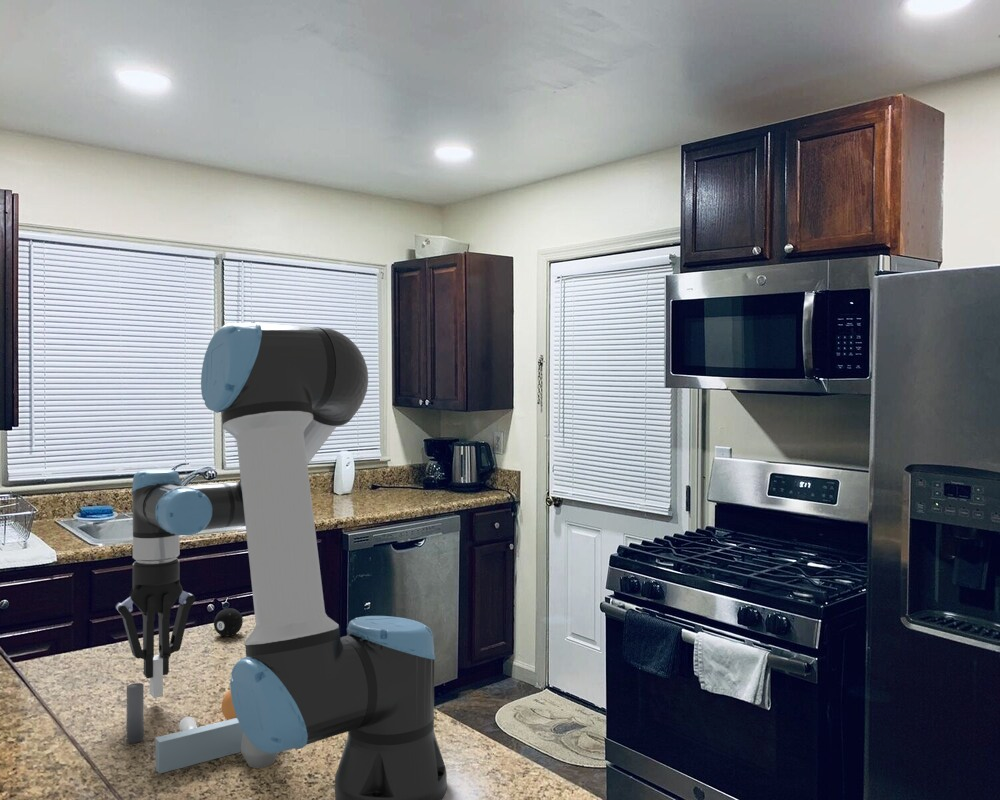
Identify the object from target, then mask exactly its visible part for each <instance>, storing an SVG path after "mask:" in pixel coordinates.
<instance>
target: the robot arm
mask: <svg viewBox="0 0 1000 800" xmlns="http://www.w3.org/2000/svg"><path fill="white" fill-rule="evenodd" d="M200 374H201V376H200V377H201V378H200V388H201V389H200V390H201V397H202V400H203V401H204V406H205V407H206V408H207V409H208V410H210V411H211V412H212V411H213V412H214V413H215V414H216V413H217V414H218V413H221V419H222V420H221V421H222V428H223V430H224V431H226V432H227V433H228V434H230V435H232V437H233V438H234V440H236V446H237V457H238V465H239V466H238V467H239V476H240V477H239V478H240V479H239V481H236V482H226V483H224V482H223V483H221V482H220V483H215V484H214V483H211V484H209V483H208V484H196V485H181V480H180V474H179V472H178V471H177V470H174V469H146V470H140V471H137V472H136V473H135V474H134V475H133V477H132V490H131V491H130V493H131V496H132V498H131V499H132V559H133V560H135V561H134V562H133V563H132V588H131V590H130V592H129V597H127V598H126V599H125V600H123V601H122V602H117V603H116V604H115V610H117V611H118V613H119V614H120V615H121V618H122V621H123V625H124V628H125V629H124V630H125V632H126V637H127V640H128V643H129V646H130V651H131V654H132V655H133V656H134V657H135V658H136V659H138V660H139V659H141V660H142V659H143V675H144V677H145V678H146V679H149V695H150V696H151V697H152V698H153V699H157V698H160V697H161V698H162V697H163V696H164V676H167V675H168V674H169V672H170V661H169V660H170V657H171V655H172V654H174V653H175V652H179V651H180V649H181V646H182V642H183V638H184V634H185V630H186V626H187V622H188V618H189V613H190V609H191V608H192V606H193V604H195V603H194V602H195V601H196V599H197V598H196V596H195V595H194V594H193V593H191V592H187V591H184V590H183V586H182V584H181V581H180V572H181V571H180V560H179V558H178V557H179V556H180V555H181V554H180V553H181V552H180V548H181V547H180V536H187V537H188V536H193V535H197V534H198V533H201V532H202V531H205V530H214V529H223V528H229V527H230V528H231V527H238V526H239V527H240V526H245V533H246V543H247V544H246V545H247V552H248V553H247V554H248V561H249V563H248V564H249V570H250V571H249V572H250V581H251V590H252V599H253V600H252V601H253V610H254V611H253V612H254V620H255V626H254V628H253V630H252V632H250V634H249V635H248V637H247V638H246V639H245V641H244V648H245V657H242V658H240V660H238V661H237V662H236V663H235V664H234V665H233V667H232V669H231V673H230V674H231V678H230V679H229V680H230V681H229V682H230V683H229V685H230V689H231V697H232V702H233V707H234V710H235V713H236V716H237V719H238V721H239V724H240V726H241V728H242V730H243V732H244V733H245V734H246V736H247V738H248V739H249V741H250V742H251V743H252V744H253V745H254V746H255V747H256V748H258V749H259V750H261V751H263V752H265V753H271V754H273V753H278V754H279V753H282V752H286V751H290V750H293V749H294V750H295V749H296V750H300V749H303V748H304V747H306V746H307V745H310V744H313V743H316V742H319V741H322V740H326V739H329V738H332V737H334V736H338V735H341V734H344V733H347V739H346V742H345V745H344V748H343V751H342V753H341V757H340V759H339V764H338V766H337V770H336V773H335V777H334V798H335V800H442V798H443V799H444V797H445V794H446V792H447V787H448V786H447V784H448V783H447V782H448V781H447V780H448V779H447V778H448V777H447V774H448V773H447V768H446V765H445V762H444V759H443V756H442V753H441V749H440V746H439V743H438V740H437V737H436V733H435V660H436V654H435V644H434V634H433V632H432V630H431V628H430V627H429V626H428V625H426V624H424V623H422V622H421V621H417V620H414V619H411V618H410V619H409V618H405V617H397V616H388V615H365V616H359V617H355V618H353V619H351V620H350V621H349V622H348V626H347V628H346V632H347V633H348V634H347V635H344V636H342V637H341V632H340V625H339V623H337V622H336V621H335V620H333V619H332V618H331V617H329V615H327V613H326V609H325V600H324V592H323V584H322V582H323V581H322V575H321V569H320V568H321V567H320V558H319V550H318V543H317V533H316V525H315V517H314V516H315V515H314V508H313V499H312V492H311V483H310V476H309V475H310V473H309V467H308V466H309V463H310V462H311V460H313V458H314V457H315V455H317V453H318V452H319V450H320V449H321V448H322V447H323V445H324V444H325V443H326V441H327V440H328V439H329V437H330V436H331V435H332V434H333V433H334V431H335V430H336V428H338V427H342V426H344V425H347V424H348V423H349V422H350V421H351V420H352V419H353V417H354V416H355V415H356V414H357V412H358V411H359V410H360V408H361V406H362V405H363V403H364V401H365V400H364V399H365V398H366V395H367V393H368V388H369V387H368V385H369V370H368V365H367V363H366V360H365V357H364V355H363V354H362V352H361V351H360V349H359V347H358V346H357V345H356V344H355V343H354V342H353V341H352V340H351V339H350V338H349V337H347V336H346V335H345V334H344V333H341V332H340V331H337V330H335V329H334V328H333V329H332V328H329V327H321V326H314V327H312V326H311V327H310V326H301V325H300V326H299V325H285V324H272V323H260V322H258V321H252V322H247V323H246V322H243V323H242V322H233V323H227V324H225V325H222V326H221V327H220V328H219V329H217V331H216V332H215V333H214V334H213V336H212V337H211V340H210V341H209V342H208V345H207V348H206V350H205V353H204V357H203V362H202V366H201V373H200ZM177 601H178V603H179V605H178V608H177V611H176V614H175V615H176V616H175V619H174V624H173V625H174V626H173V628H172V632H171V633H170V631H171V630H170V627H171V626H170V624H171V623H170V618H171V610H172V608H173V607H174V605H175V604H176V602H177ZM133 605H135V607H137V608H138V610H139V611H140V612H141V613H142V615H141V616H142V645H141V642H140V639H139V635H138V630H137V627H136V624H135V619H134V616H133V615H132V612H133V610H134V608H133ZM156 614H157V615H158V653H159V654H155V620H156V617H155V616H156ZM170 634H171V636H170ZM170 637H171V638H170ZM230 689H229V690H230Z"/></svg>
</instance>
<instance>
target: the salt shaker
mask: <svg viewBox="0 0 1000 800" xmlns="http://www.w3.org/2000/svg"><path fill="white" fill-rule="evenodd" d="M240 753H241V755H242V757H243V758H244V760H245V762H246V763H247V765H248V767H249V768H256V769H263V768H267V767H269V766H272V765H273V764H274V763H275V761H276V759H277V757H278V755H279V753H273V754H271V753H265V752H263V751H261V750H259V749H258V748H256V747H255V746H254V745H253V744H252V743H251V742H250V741H249V739H248V738H247V736H246V734H245V733H244V732H243V738H242V743H241V752H240Z"/></svg>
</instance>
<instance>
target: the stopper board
mask: <svg viewBox="0 0 1000 800" xmlns="http://www.w3.org/2000/svg"><path fill="white" fill-rule="evenodd" d="M242 738H243V730H242V728H241V726H240V724H239V721H238V719H237V718H234V719H230V720H227V719H226V720H223V721H218V722H215V723H210V724H206V725H203V726H202V725H201V726H197V728H193V729H189V730H185V731H181V730H180V731H176V732H174V733H169V734H165V735H160V736H156V737H155V738H154V739H155V746H154V747H155V752H154V753H155V757H154V758H155V760H154V761H155V766H154V767H155V770H156V772H157V773H158V774H159V775H160V774H164V773H167V772H172V771H174V770H179V769H182V768H186V767H191V766H194V765H197V764H198V765H199V764H201V763H205V762H209V761H213V760H215V759H216V760H217V759H221V758H224V757H227V756H230V755H235V754H239V753H241V743H242Z"/></svg>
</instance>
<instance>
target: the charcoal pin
mask: <svg viewBox="0 0 1000 800" xmlns="http://www.w3.org/2000/svg"><path fill="white" fill-rule="evenodd" d="M144 685H145V684H144V683H140V682H136V683H130V684H128V685H127V686H126V743H128V744H130V743H131V744H132V743H133V744H137V743H138V744H139V743H140V741H141V742H143V741H142V740H144V735H145V734H144V731H145V730H144V727H145V726H144V724H145V723H144V713H145V711H144V708H145V706H144V703H145V702H144V701H145V700H144V697H145V696H144V694H145V693H144V691H145V690H144Z"/></svg>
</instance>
